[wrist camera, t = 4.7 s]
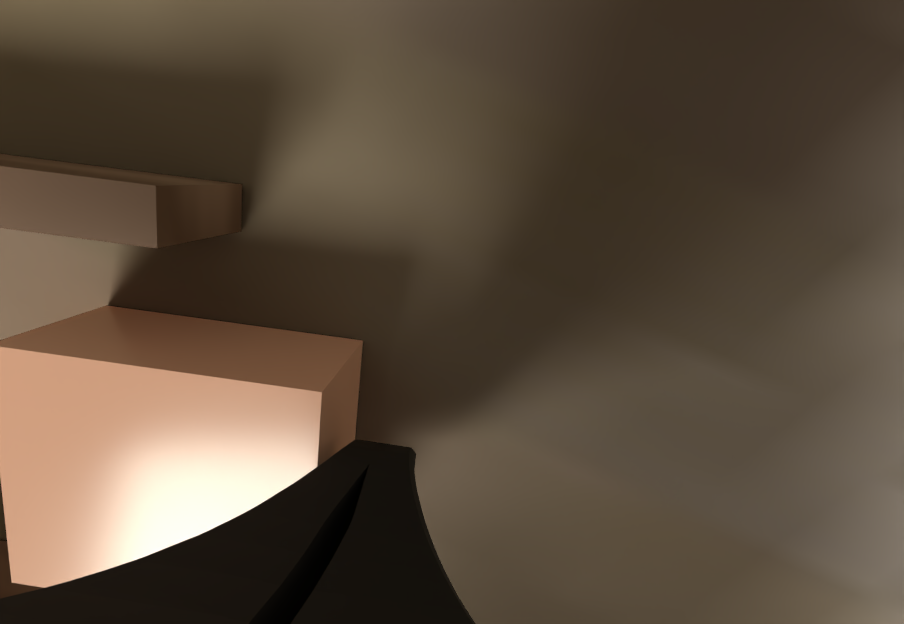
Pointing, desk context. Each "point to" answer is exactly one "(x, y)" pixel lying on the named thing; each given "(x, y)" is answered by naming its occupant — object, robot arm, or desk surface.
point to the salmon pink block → (157, 431)
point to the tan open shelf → (109, 219)
